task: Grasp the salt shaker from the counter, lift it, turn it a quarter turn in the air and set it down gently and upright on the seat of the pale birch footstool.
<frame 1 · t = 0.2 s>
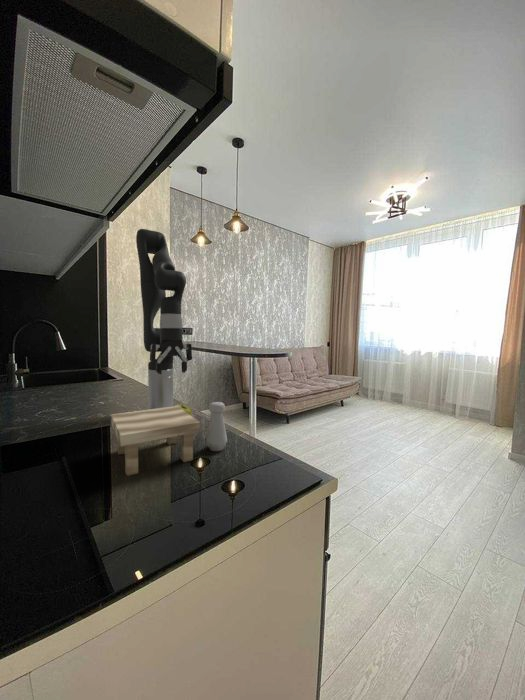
hand: (171, 373, 103), 17 cm above the counter, tool pointing down, fingers open, 8 cm apart
footstool: (154, 455, 76), on the counter
apple: (180, 430, 96), on the counter
salt shaker: (216, 449, 82), on the counter
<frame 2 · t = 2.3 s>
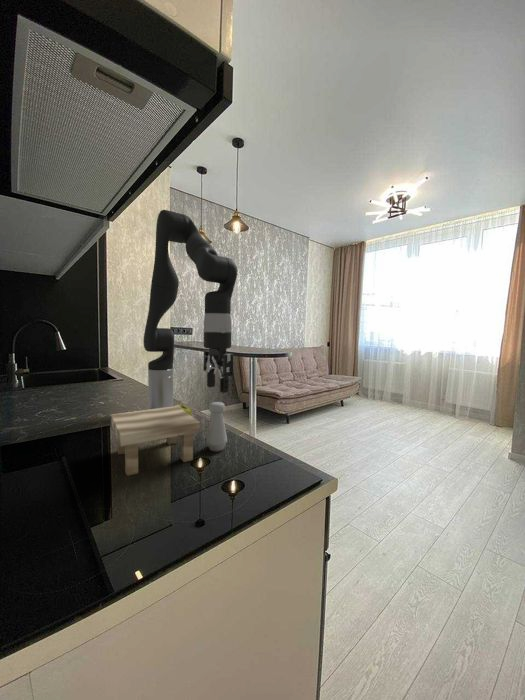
hand: (217, 389, 80), 17 cm above the counter, tool pointing down, fingers open, 8 cm apart
nothing on the counter moved.
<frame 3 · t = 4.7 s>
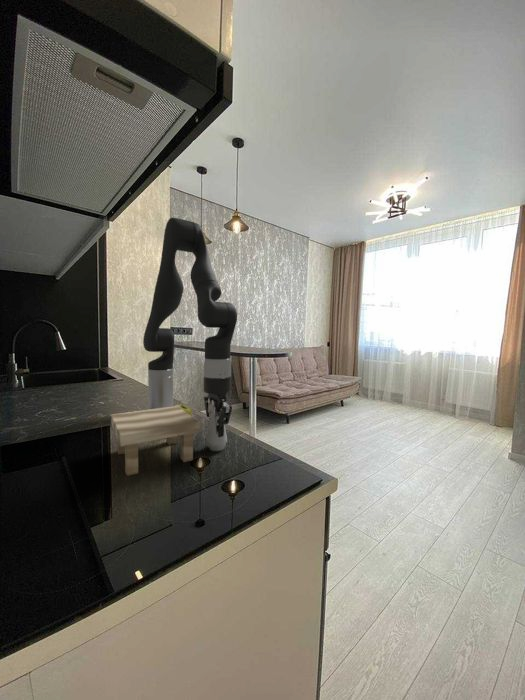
hand: (216, 435, 81), 4 cm above the counter, tool pointing down, fingers closed on salt shaker, 3 cm apart
salt shaker: (216, 449, 82), on the counter, touching gripper
everything else where it was.
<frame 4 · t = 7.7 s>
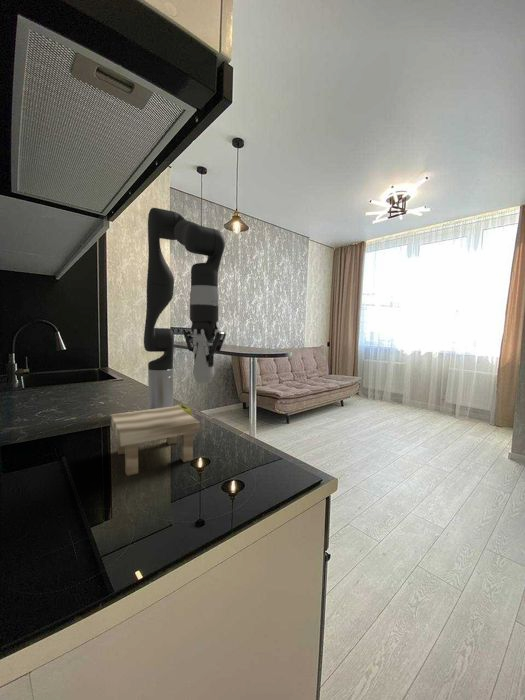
hand: (203, 367, 79), 23 cm above the counter, tool pointing down, fingers closed on salt shaker, 3 cm apart
salt shaker: (203, 381, 80), point 19 cm above the counter, touching gripper
everything else where it was.
when the fingers open (15 cm above the counter, at t = 11.2 s): salt shaker drops 1 cm, resting on footstool.
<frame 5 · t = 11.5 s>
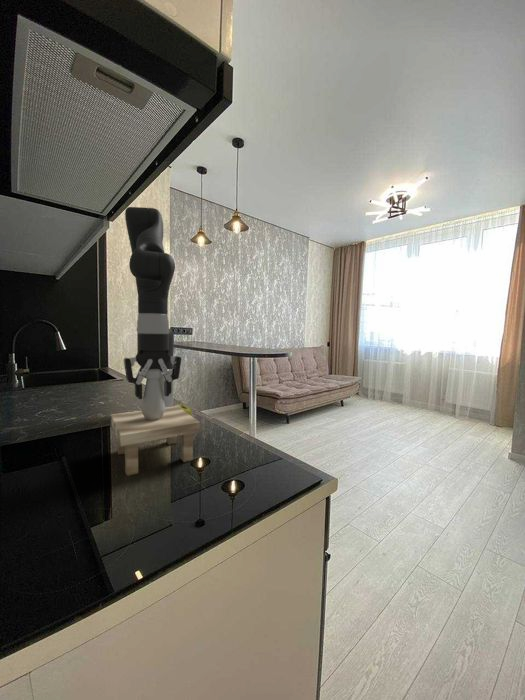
hand: (153, 396, 75), 16 cm above the counter, tool pointing down, fingers open, 6 cm apart
salt shaker: (153, 418, 76), point 10 cm above the counter, touching footstool
everything else where it was.
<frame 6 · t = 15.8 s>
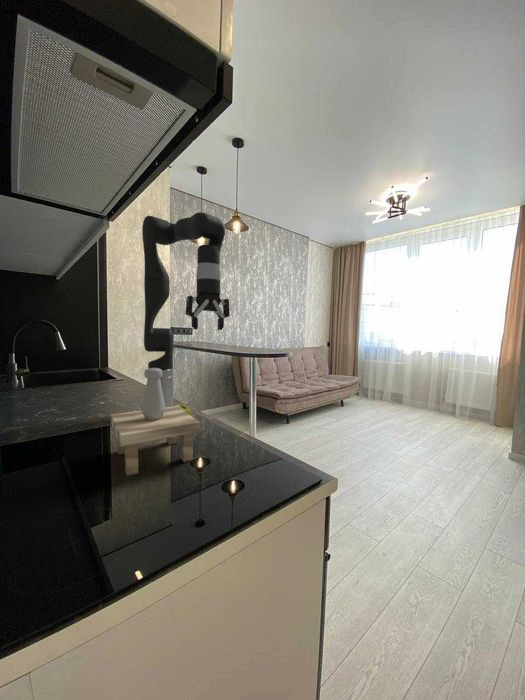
hand: (208, 329, 95), 33 cm above the counter, tool pointing down, fingers open, 8 cm apart
nothing on the counter moved.
at the end: salt shaker inside the target area on the footstool (0.1 cm from its centre), point 9.8 cm above the footstool's base; salt shaker tilted 0°; the gripper is holding nothing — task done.
